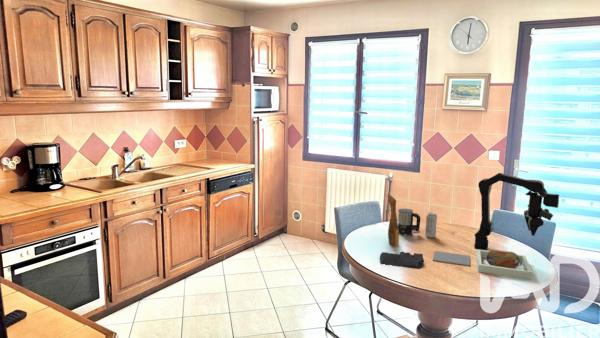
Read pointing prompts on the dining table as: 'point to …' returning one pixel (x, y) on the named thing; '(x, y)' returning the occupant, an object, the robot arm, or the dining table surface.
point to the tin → (503, 259)
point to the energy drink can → (431, 224)
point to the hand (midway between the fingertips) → (531, 232)
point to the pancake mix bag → (393, 223)
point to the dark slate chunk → (402, 259)
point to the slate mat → (451, 258)
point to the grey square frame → (502, 270)
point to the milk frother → (407, 221)
